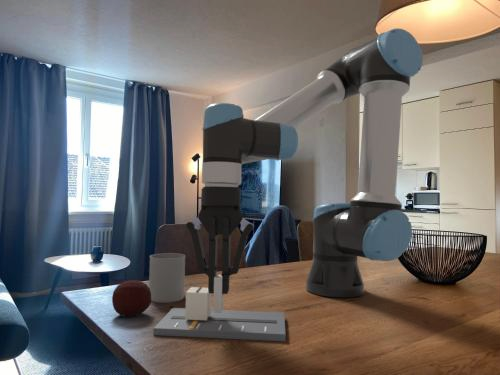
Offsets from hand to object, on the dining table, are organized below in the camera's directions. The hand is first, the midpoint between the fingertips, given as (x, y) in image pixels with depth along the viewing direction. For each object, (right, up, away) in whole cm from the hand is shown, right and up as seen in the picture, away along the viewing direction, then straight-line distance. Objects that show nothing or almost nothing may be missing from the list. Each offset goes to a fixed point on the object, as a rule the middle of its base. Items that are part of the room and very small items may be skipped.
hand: (218, 310), depth 69 cm
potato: (-18, -3, +5) cm, 19 cm away
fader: (-4, -1, 0) cm, 4 cm away
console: (+1, -3, 0) cm, 3 cm away
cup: (-14, -4, +19) cm, 24 cm away
